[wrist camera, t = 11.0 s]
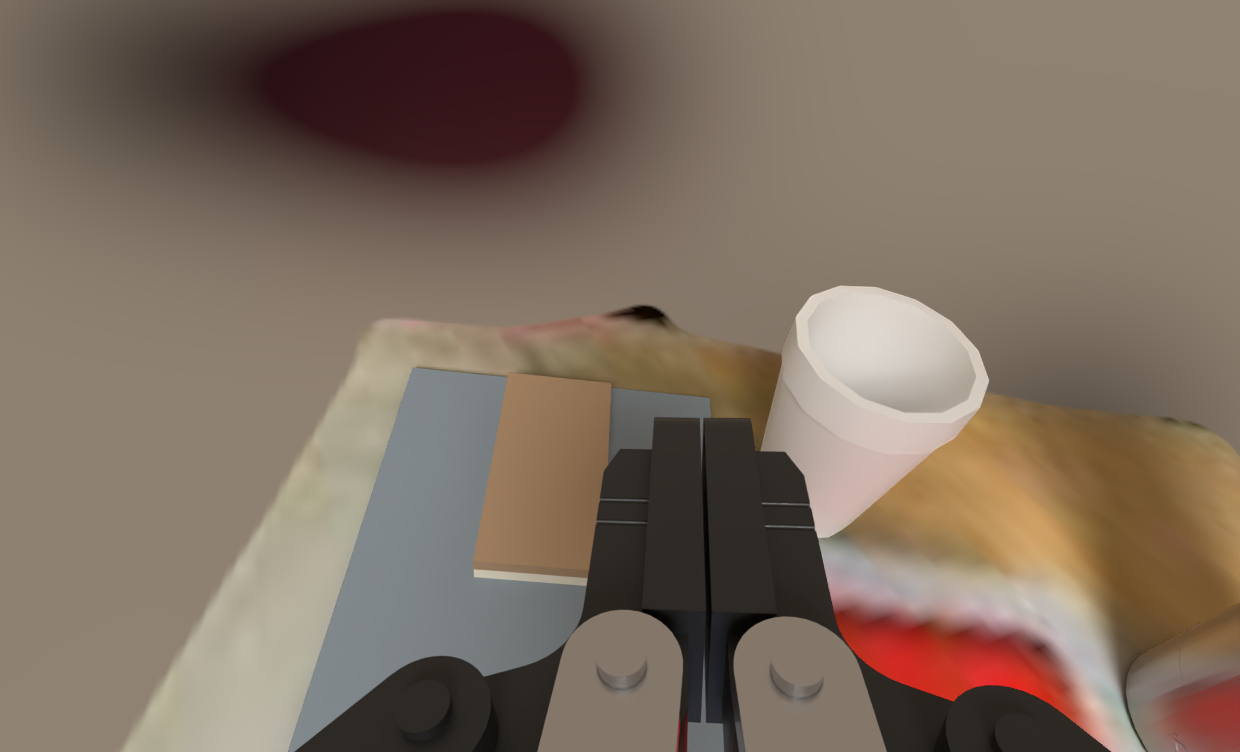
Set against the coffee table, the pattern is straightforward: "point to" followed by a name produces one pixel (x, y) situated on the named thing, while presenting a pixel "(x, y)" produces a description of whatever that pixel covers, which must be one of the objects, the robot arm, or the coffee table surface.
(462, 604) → the mat
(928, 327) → the foam cup
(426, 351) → the coffee table surface
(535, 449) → the tile
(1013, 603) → the coffee table surface
